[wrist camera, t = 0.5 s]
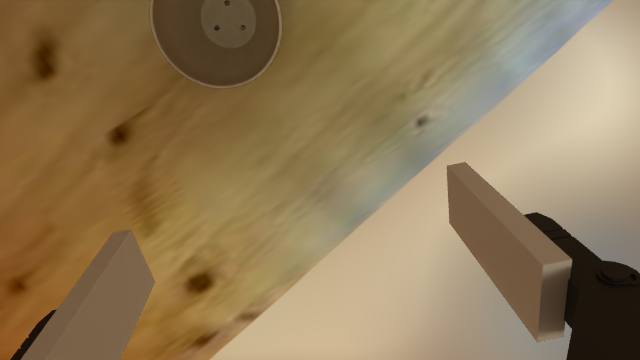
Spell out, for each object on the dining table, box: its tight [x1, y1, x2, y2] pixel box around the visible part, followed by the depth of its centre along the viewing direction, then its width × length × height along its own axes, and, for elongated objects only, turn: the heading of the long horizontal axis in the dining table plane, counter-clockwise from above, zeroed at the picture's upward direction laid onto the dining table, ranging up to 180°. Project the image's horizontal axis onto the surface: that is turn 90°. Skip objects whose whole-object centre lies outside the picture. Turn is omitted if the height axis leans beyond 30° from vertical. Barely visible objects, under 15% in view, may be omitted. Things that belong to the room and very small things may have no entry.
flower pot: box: [149, 0, 282, 89], centre depth 34 cm, size 10×10×7 cm
